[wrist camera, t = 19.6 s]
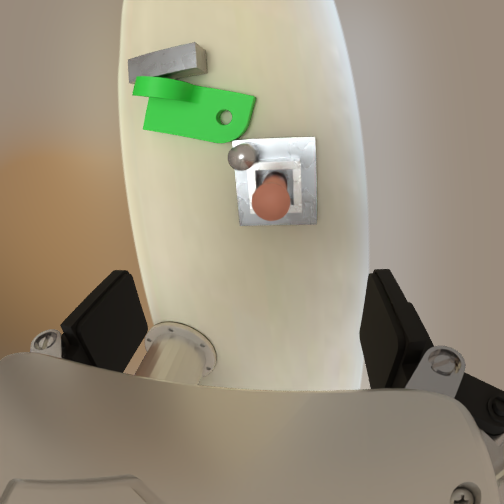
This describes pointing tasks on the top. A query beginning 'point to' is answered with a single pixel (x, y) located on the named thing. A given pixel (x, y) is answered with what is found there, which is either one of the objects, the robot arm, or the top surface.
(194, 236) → the top surface
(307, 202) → the metal square socket base
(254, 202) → the peach peg
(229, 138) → the mechanical part
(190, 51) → the block
